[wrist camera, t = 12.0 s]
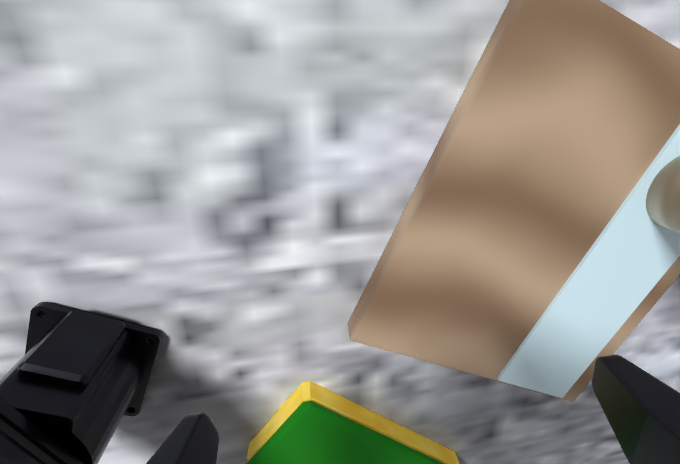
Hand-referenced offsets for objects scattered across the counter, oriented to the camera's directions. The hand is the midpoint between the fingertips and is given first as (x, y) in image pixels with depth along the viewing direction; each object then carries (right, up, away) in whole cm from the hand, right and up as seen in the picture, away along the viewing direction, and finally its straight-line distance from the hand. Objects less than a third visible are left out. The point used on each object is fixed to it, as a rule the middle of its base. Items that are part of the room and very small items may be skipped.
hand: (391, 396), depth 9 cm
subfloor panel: (+10, +4, +12) cm, 16 cm away
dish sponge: (0, -12, +19) cm, 22 cm away
